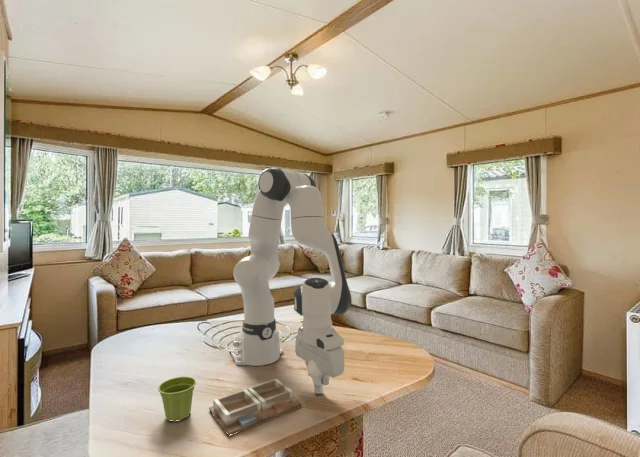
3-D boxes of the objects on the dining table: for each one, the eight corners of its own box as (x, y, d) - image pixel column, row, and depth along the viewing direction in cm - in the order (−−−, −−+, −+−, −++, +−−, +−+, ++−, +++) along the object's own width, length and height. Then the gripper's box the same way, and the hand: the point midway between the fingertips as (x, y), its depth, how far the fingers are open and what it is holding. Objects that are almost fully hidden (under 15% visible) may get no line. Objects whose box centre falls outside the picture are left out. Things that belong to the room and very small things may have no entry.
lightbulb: (327, 400, 100) (326, 362, 100) (305, 398, 102) (304, 360, 101) (330, 389, 107) (330, 353, 106) (310, 387, 108) (309, 352, 107)
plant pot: (166, 407, 98) (165, 377, 98) (200, 405, 99) (199, 375, 98) (153, 427, 89) (152, 394, 88) (191, 425, 90) (190, 392, 89)
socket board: (209, 410, 96) (208, 398, 96) (276, 387, 108) (276, 376, 108) (228, 436, 85) (228, 422, 84) (301, 407, 97) (301, 394, 97)
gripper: (289, 327, 110) (290, 370, 110) (329, 346, 93) (330, 397, 94) (306, 323, 114) (307, 365, 114) (347, 341, 97) (348, 390, 98)
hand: (318, 379), depth 104 cm, fingers closed on lightbulb, 5 cm apart
